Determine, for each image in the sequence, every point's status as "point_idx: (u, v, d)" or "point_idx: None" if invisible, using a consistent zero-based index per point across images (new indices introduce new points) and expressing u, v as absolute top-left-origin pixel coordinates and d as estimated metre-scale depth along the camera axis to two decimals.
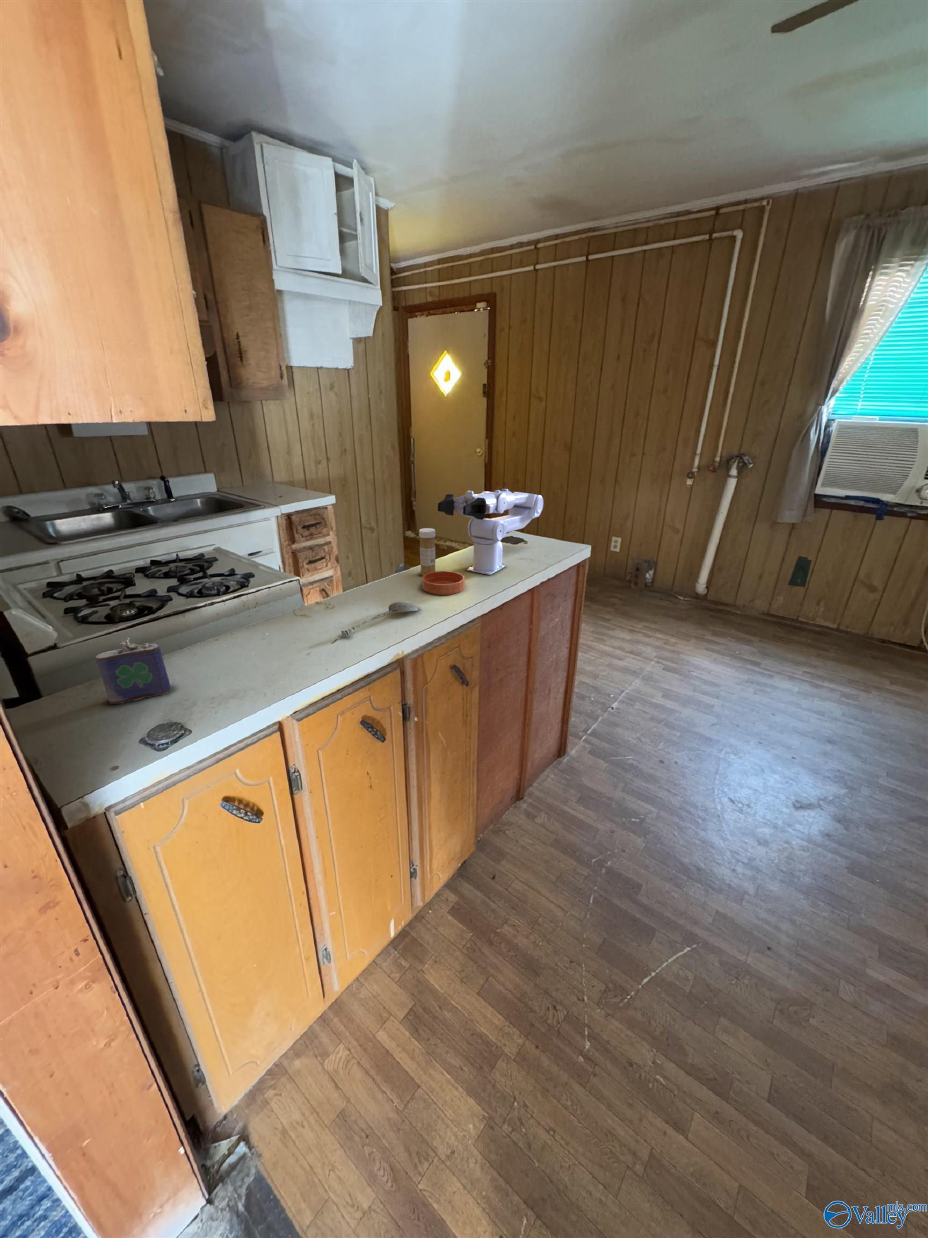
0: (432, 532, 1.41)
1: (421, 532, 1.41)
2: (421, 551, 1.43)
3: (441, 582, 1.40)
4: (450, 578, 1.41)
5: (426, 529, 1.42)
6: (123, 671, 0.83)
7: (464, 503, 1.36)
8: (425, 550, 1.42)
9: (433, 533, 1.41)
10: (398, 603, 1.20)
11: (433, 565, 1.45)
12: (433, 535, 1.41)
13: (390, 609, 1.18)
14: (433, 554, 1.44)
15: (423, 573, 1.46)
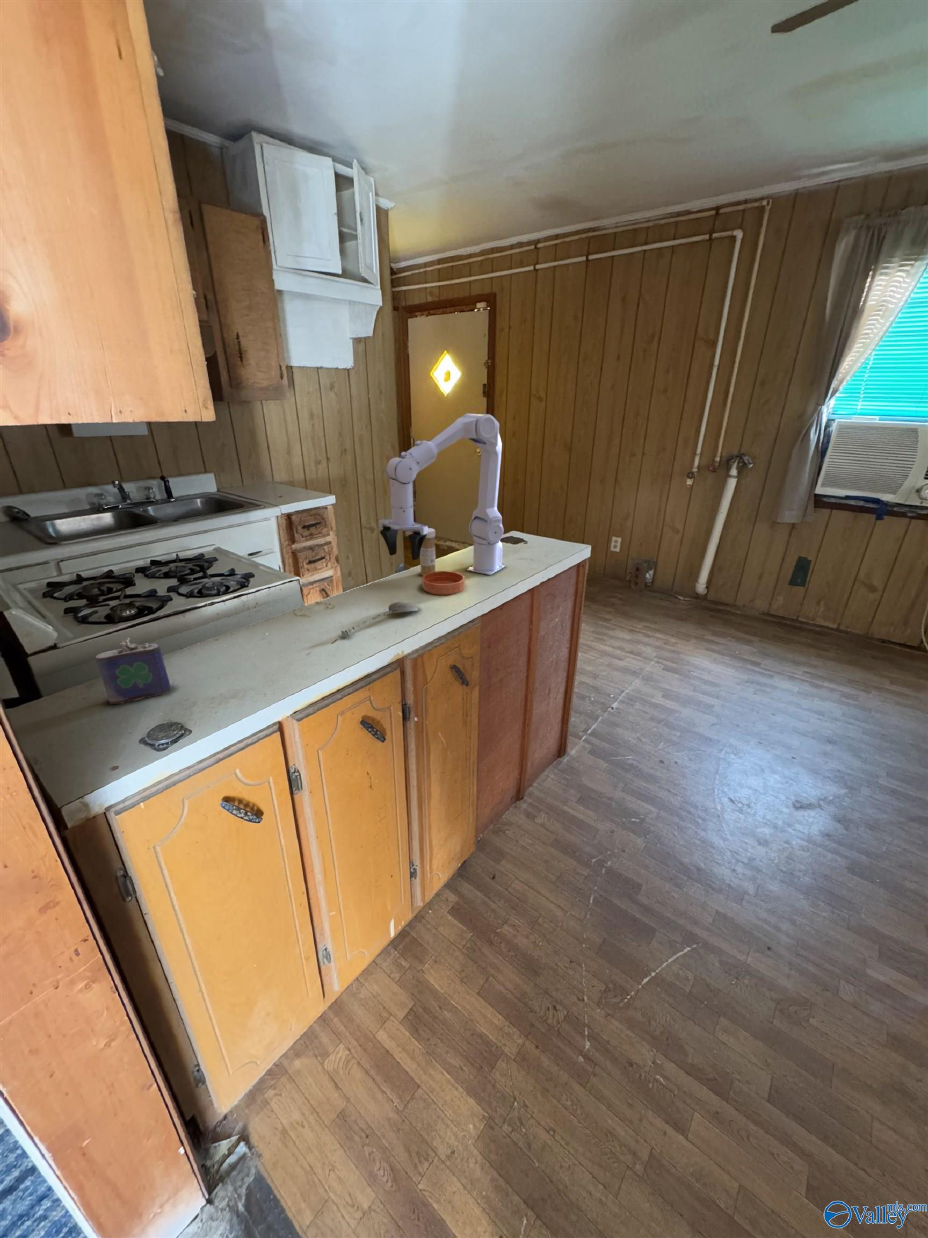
0: (432, 532, 1.41)
1: None
2: (421, 551, 1.43)
3: (441, 582, 1.40)
4: (450, 578, 1.41)
5: None
6: (123, 671, 0.83)
7: None
8: (425, 550, 1.42)
9: (433, 533, 1.41)
10: (398, 603, 1.20)
11: (433, 565, 1.45)
12: (433, 535, 1.41)
13: (390, 609, 1.18)
14: (433, 554, 1.44)
15: (423, 573, 1.46)
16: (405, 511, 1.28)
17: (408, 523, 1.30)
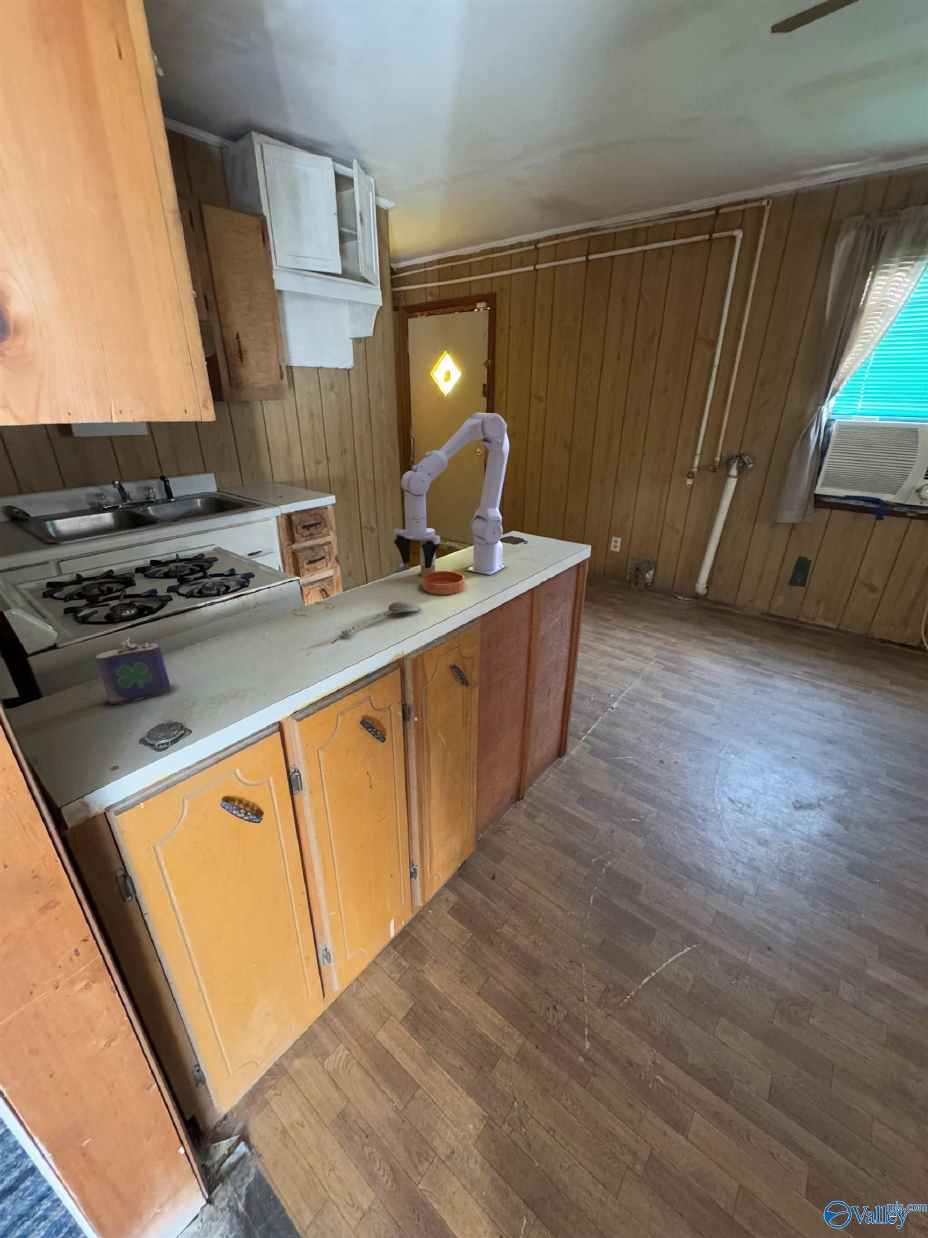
0: (432, 532, 1.41)
1: None
2: (421, 551, 1.43)
3: (441, 582, 1.40)
4: (450, 578, 1.41)
5: None
6: (123, 671, 0.83)
7: None
8: None
9: (433, 533, 1.41)
10: (398, 603, 1.20)
11: (433, 565, 1.45)
12: None
13: (390, 609, 1.18)
14: None
15: (423, 573, 1.46)
16: (419, 522, 1.34)
17: (421, 533, 1.36)
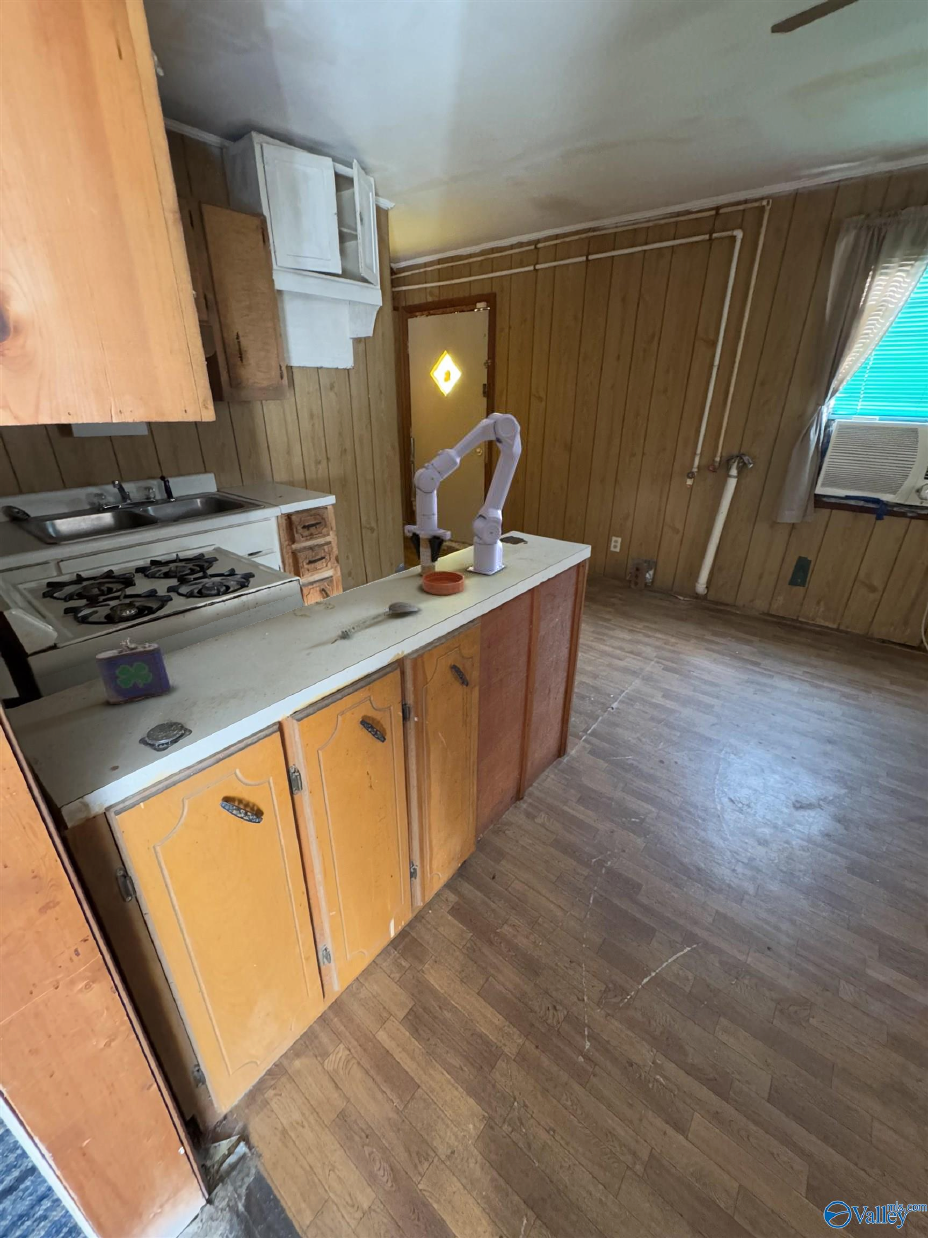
0: None
1: None
2: (421, 551, 1.43)
3: (441, 582, 1.40)
4: (450, 578, 1.41)
5: None
6: (123, 671, 0.83)
7: None
8: (425, 550, 1.42)
9: None
10: (398, 603, 1.20)
11: (433, 565, 1.45)
12: None
13: (390, 609, 1.18)
14: None
15: (423, 573, 1.46)
16: (430, 518, 1.38)
17: (432, 529, 1.40)
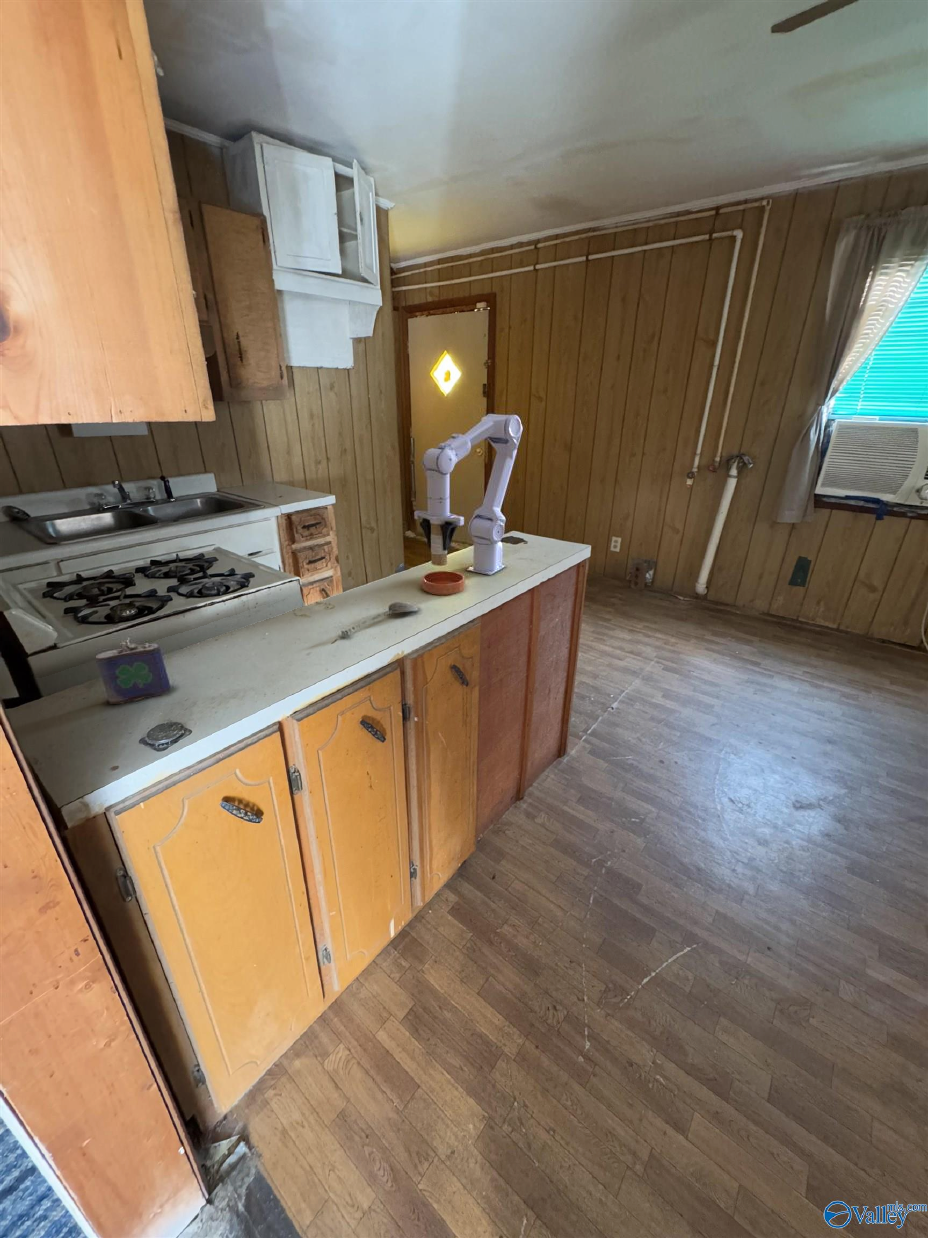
0: None
1: None
2: (432, 538, 1.33)
3: (441, 582, 1.40)
4: (450, 578, 1.41)
5: None
6: (123, 671, 0.83)
7: None
8: (437, 537, 1.32)
9: None
10: (398, 603, 1.20)
11: (445, 553, 1.35)
12: None
13: (390, 609, 1.18)
14: None
15: (434, 562, 1.36)
16: (442, 502, 1.28)
17: (444, 514, 1.30)
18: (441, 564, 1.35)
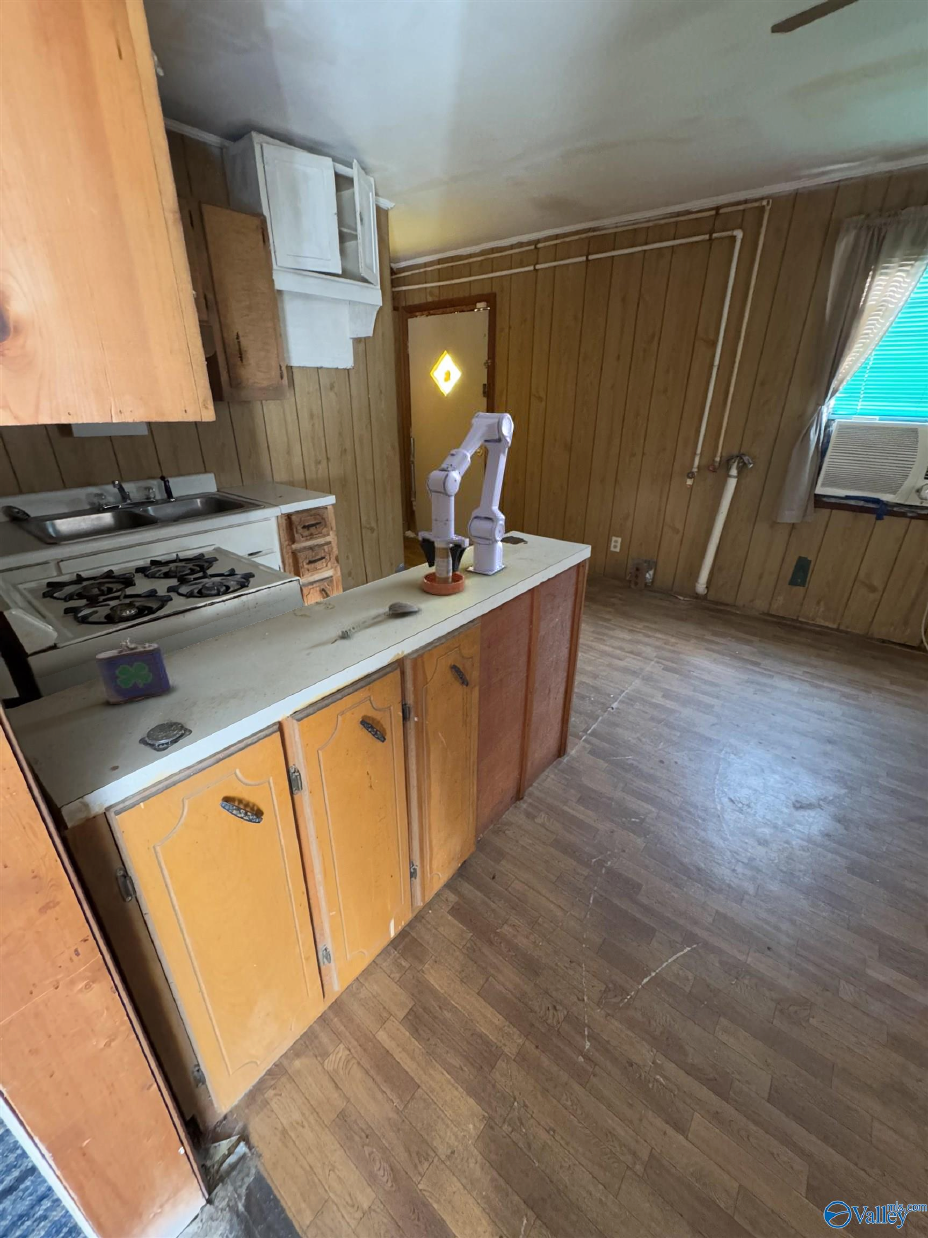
0: None
1: None
2: (436, 561, 1.33)
3: None
4: None
5: None
6: (123, 671, 0.83)
7: None
8: (441, 560, 1.32)
9: None
10: (398, 603, 1.20)
11: (449, 576, 1.35)
12: (450, 544, 1.31)
13: (390, 609, 1.18)
14: (449, 564, 1.33)
15: None
16: (446, 524, 1.28)
17: (449, 536, 1.29)
18: None
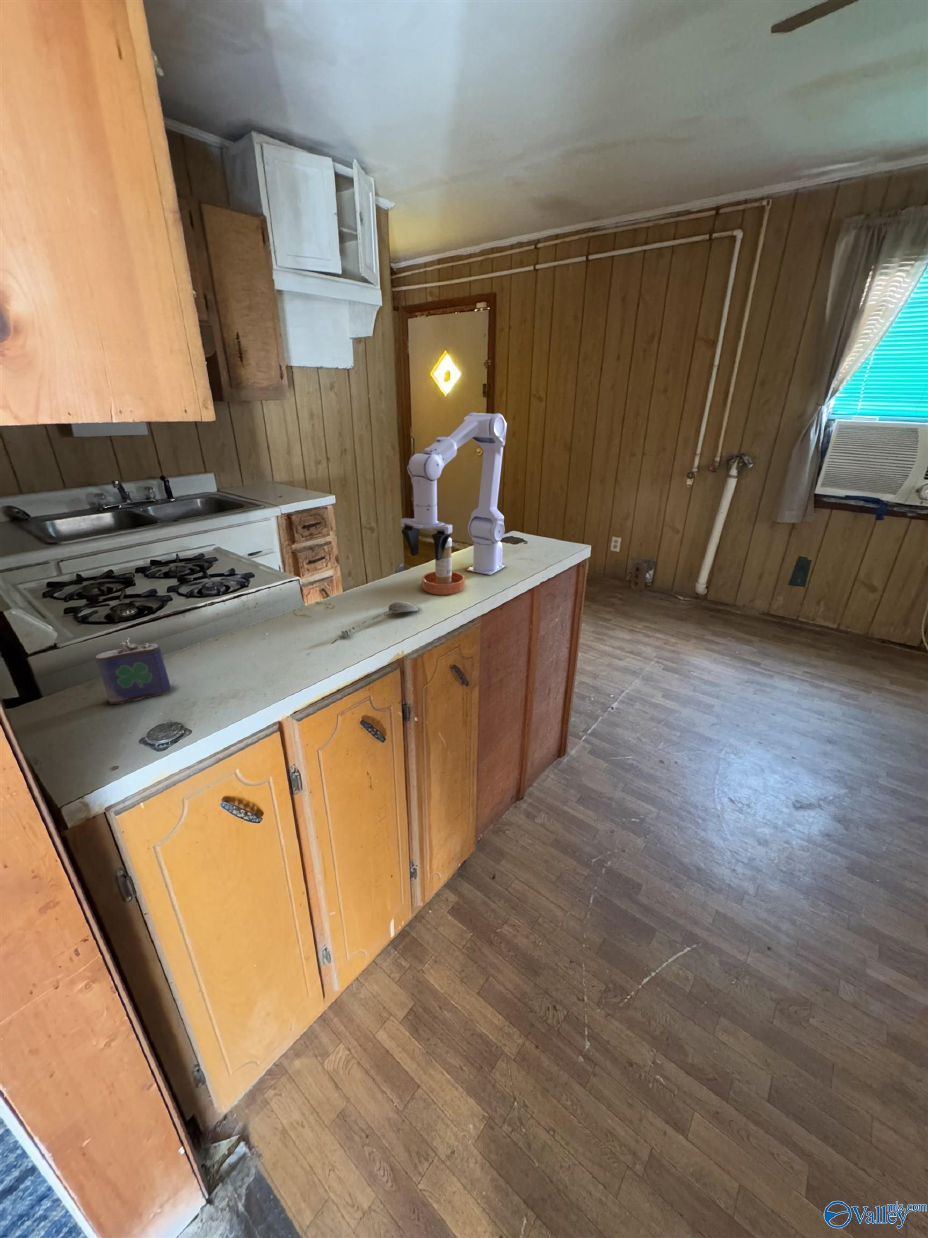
0: (449, 541, 1.30)
1: None
2: (436, 561, 1.33)
3: None
4: None
5: None
6: (123, 671, 0.83)
7: None
8: (441, 560, 1.32)
9: (450, 542, 1.31)
10: (398, 603, 1.20)
11: (449, 576, 1.35)
12: (450, 544, 1.31)
13: (390, 609, 1.18)
14: (449, 564, 1.33)
15: None
16: (429, 509, 1.23)
17: (432, 522, 1.24)
18: None
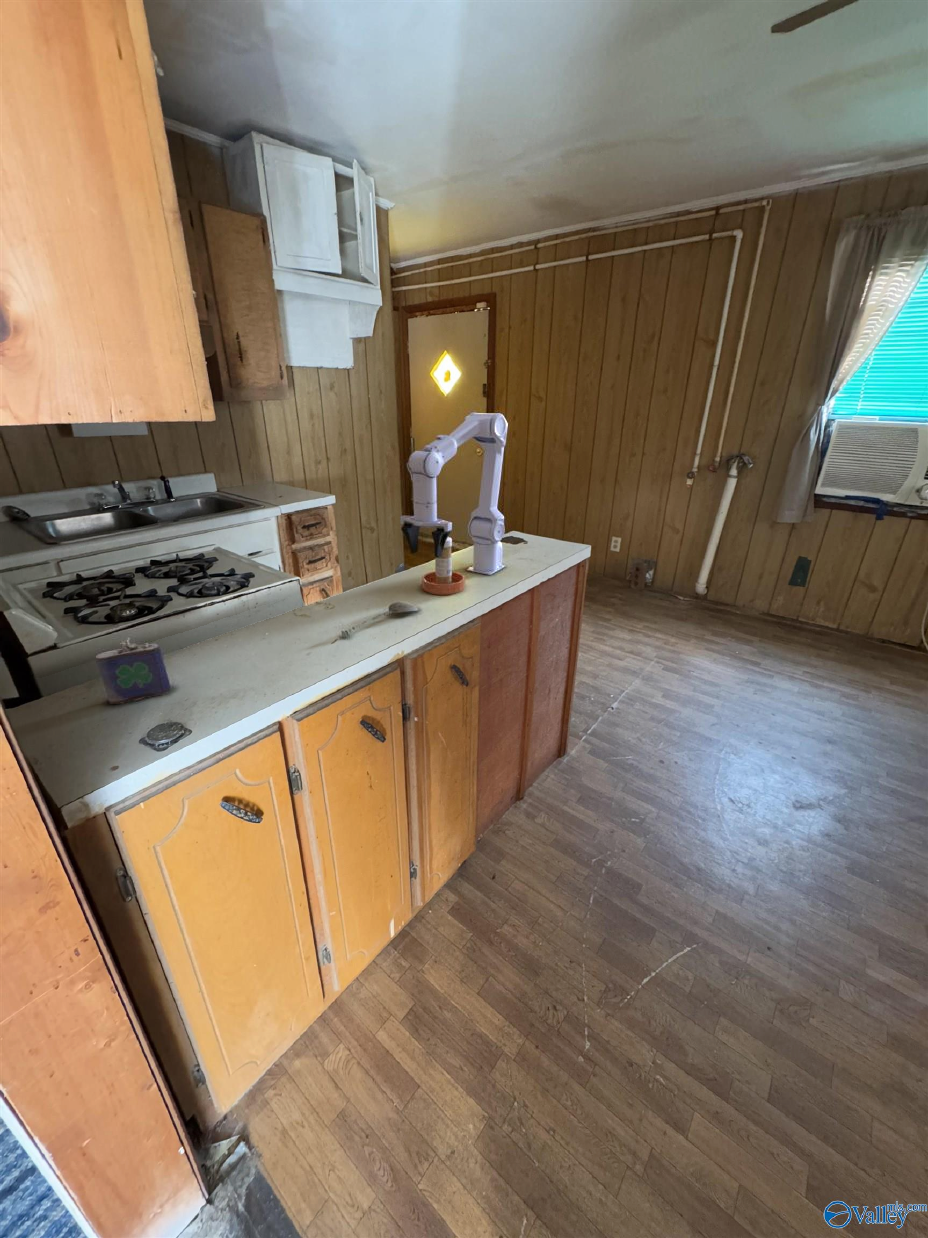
0: (449, 541, 1.30)
1: None
2: (436, 561, 1.33)
3: None
4: None
5: None
6: (123, 671, 0.83)
7: None
8: (441, 560, 1.32)
9: (450, 542, 1.31)
10: (398, 603, 1.20)
11: (449, 576, 1.35)
12: (450, 544, 1.31)
13: (390, 609, 1.18)
14: (449, 564, 1.33)
15: None
16: (428, 507, 1.23)
17: (431, 519, 1.24)
18: None
